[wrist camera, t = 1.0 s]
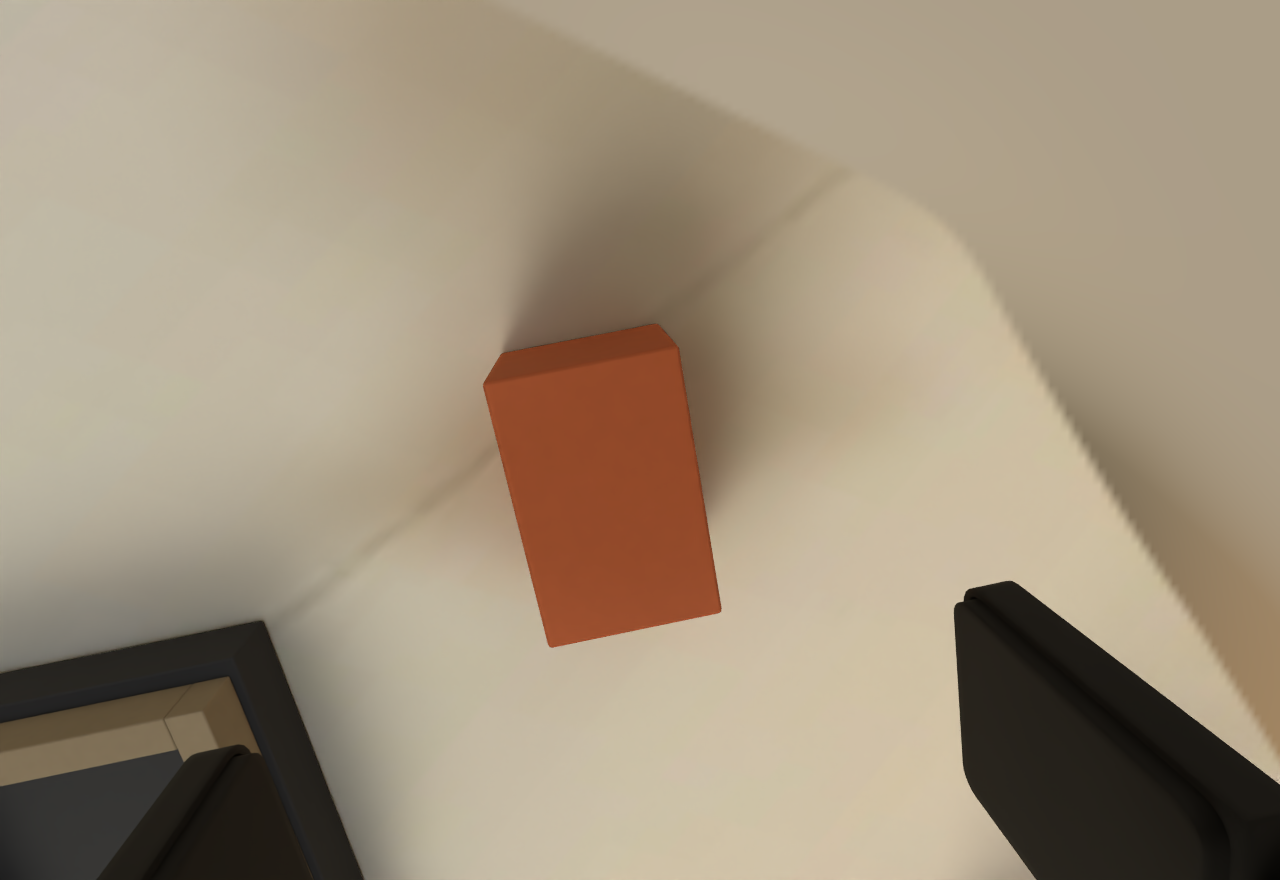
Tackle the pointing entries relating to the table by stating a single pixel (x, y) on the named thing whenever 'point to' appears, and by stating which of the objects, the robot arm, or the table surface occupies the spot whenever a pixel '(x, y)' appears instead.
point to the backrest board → (147, 749)
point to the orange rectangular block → (605, 482)
